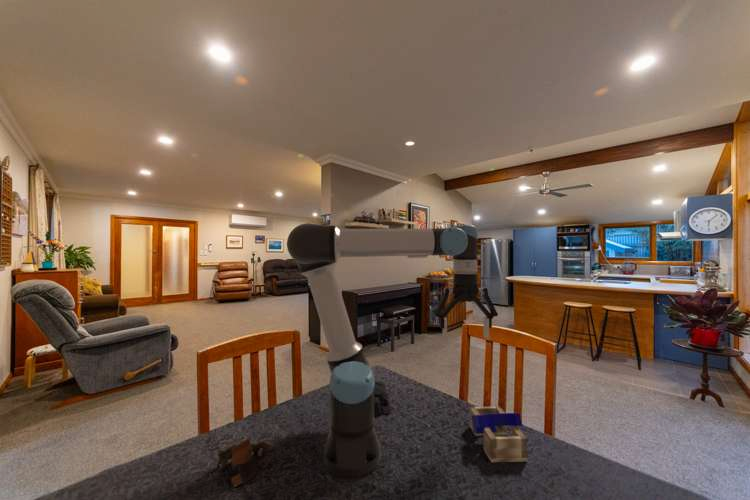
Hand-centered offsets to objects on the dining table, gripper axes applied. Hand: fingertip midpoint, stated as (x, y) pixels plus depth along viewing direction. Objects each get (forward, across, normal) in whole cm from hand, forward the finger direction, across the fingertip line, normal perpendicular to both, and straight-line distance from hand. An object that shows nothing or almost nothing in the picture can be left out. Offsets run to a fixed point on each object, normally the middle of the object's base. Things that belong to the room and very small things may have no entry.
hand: (465, 338), depth 96 cm
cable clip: (+22, +5, -9) cm, 25 cm away
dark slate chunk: (+27, -31, +15) cm, 44 cm away
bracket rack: (+27, +5, -11) cm, 29 cm away
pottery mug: (+27, -63, -20) cm, 71 cm away
